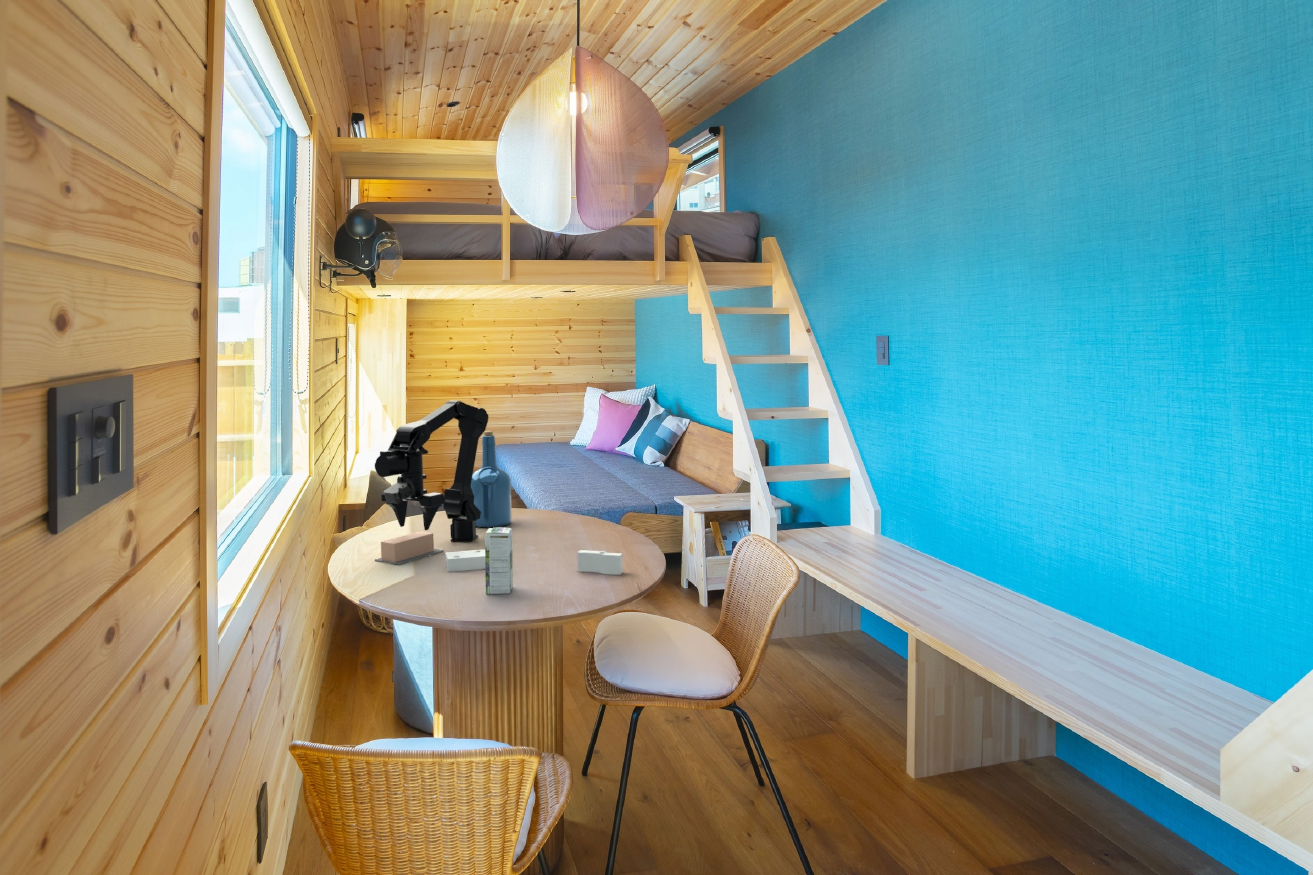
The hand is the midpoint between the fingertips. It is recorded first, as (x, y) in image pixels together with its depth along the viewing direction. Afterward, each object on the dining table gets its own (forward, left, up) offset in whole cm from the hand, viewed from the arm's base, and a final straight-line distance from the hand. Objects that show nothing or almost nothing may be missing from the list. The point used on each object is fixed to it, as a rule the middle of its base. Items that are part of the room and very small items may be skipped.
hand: (414, 528), depth 224 cm
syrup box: (-32, +31, -8) cm, 46 cm away
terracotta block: (-2, -4, -4) cm, 6 cm away
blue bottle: (-10, -39, -8) cm, 41 cm away
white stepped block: (-54, +14, -8) cm, 56 cm away
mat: (+1, +2, -7) cm, 8 cm away
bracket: (-19, +11, -8) cm, 23 cm away
